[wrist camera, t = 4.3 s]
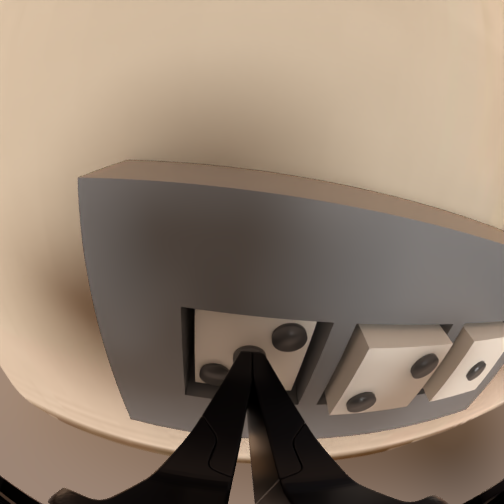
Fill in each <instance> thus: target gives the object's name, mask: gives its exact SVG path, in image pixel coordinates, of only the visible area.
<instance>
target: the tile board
mask: <svg viewBox="0 0 504 504" xmlns="http://www.w3.org/2000/svg"><path fill="white" fill-rule="evenodd" d="M78 197H79V212H80V224H81V233H82V242H83V249H84V256H85V263H86V269H87V275H88V280H89V286H90V291H91V295H92V300H93V305H94V309H95V313H96V317H97V321H98V325H99V329H100V333H101V336H102V340H103V343H104V347H105V350H106V353H107V357H108V360H109V363H110V366H111V369H112V372H113V375H114V377H115V380H116V383H117V386H118V388H119V391H120V394H121V396H122V399H123V401H124V404H125V406H126V409H127V411H128V413H129V416H130V418H131V419H133V420H137V421H141V422H145V423H149V424H153V425H158V426H162V427H167V428H172V429H178V430H183V431H189V432H191V431H192V430H193V428H194V427H195V425H196V424H197V422H198V421H199V419H200V417H202V414H203V413H204V411H205V410H206V408H207V406H208V405H209V403H210V401H211V400H212V398H213V396H214V395H215V393H216V391H217V390H218V388H219V387H220V386H214V385H210V384H207V383H200V382H195V309H200V310H207V311H214V312H222V313H230V314H239V315H248V316H257V317H267V318H278V319H290V320H302V321H316V322H317V323H316V326H315V329H314V332H313V335H312V337H311V340H310V343H309V346H308V348H307V351H306V354H305V356H304V359H303V362H302V364H301V367H300V369H299V372H298V374H297V377H296V379H295V382H294V384H293V387H292V389H291V390H286V391H287V393H288V395H289V396H290V398H291V400H292V401H293V403H294V405H295V406H296V408H297V409H298V411H299V413H300V414H301V416H302V418H303V419H304V421H305V423H306V424H307V425H308V427H309V429H310V430H311V432H312V433H313V435H314V436H315V438H331V437H343V436H352V435H360V434H367V433H374V432H380V431H386V430H391V429H396V428H401V427H406V426H410V425H414V424H419V423H423V422H426V421H430V420H434V419H437V418H441V417H444V416H447V415H450V414H454V413H457V412H460V411H463V410H465V409H467V408H468V407H469V405H470V404H471V403H472V402H473V401H474V400H475V399H476V398H477V397H478V395H479V394H480V393H481V392H482V391H483V390H484V388H485V387H486V386H487V385H488V383H489V382H490V381H491V380H492V378H493V377H494V376H495V375H496V373H497V372H498V371H499V369H500V368H501V367H502V365H503V364H504V352H503V353H502V355H501V356H500V358H499V359H498V361H497V362H496V363H495V365H494V366H493V367H492V369H491V370H490V371H489V373H488V374H487V375H486V377H485V378H484V379H483V380H482V382H481V383H480V384H479V385H478V387H477V388H476V389H475V390H472V391H469V392H465V393H462V394H459V395H455V396H451V397H447V398H444V399H439V400H435V401H431V402H429V400H428V398H427V396H426V394H425V391H424V389H423V387H422V389H421V390H420V391H419V392H418V394H417V395H416V396H415V397H414V399H413V400H412V401H411V402H410V403H409V404H408V406H406V407H400V408H394V409H388V410H381V411H373V412H364V413H354V414H341V415H329V411H328V406H327V401H326V397H325V392H324V390H325V388H326V386H327V384H328V382H329V380H330V378H331V376H332V375H333V373H334V371H335V369H336V367H337V365H338V363H339V361H340V359H341V357H342V354H343V352H344V350H345V348H346V346H347V344H348V342H349V340H350V337H351V335H352V333H353V331H354V328H355V326H356V324H388V325H434V324H439V325H440V326H441V327H442V329H443V330H444V332H445V333H446V334H447V336H448V337H449V339H450V340H451V342H452V343H453V342H454V341H455V339H456V338H457V336H458V334H459V333H460V331H461V329H462V327H463V326H464V324H466V323H484V322H498V321H503V323H504V231H503V230H500V229H498V228H495V227H492V226H489V225H487V224H484V223H481V222H478V221H475V220H472V219H469V218H466V217H463V216H460V215H457V214H454V213H451V212H448V211H444V210H441V209H438V208H434V207H431V206H428V205H424V204H420V203H417V202H413V201H409V200H406V199H402V198H398V197H394V196H390V195H386V194H382V193H378V192H373V191H369V190H365V189H360V188H355V187H351V186H346V185H341V184H336V183H331V182H326V181H321V180H315V179H309V178H304V177H298V176H292V175H285V174H279V173H272V172H265V171H258V170H250V169H242V168H234V167H225V166H215V165H204V164H193V163H179V162H164V161H143V160H126V161H123V162H120V163H117V164H114V165H111V166H108V167H105V168H102V169H99V170H96V171H94V172H91V173H88V174H86V175H83V176H80V177H78ZM242 438H249V433H248V421H247V412H246V417H245V423H244V428H243V433H242Z"/></svg>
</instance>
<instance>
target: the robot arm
mask: <svg viewBox="0 0 504 504" xmlns="http://www.w3.org/2000/svg"><path fill="white" fill-rule="evenodd" d="M246 412H247V421H248V433H249V445H250V457H251V468H252V479H253V490H254V499H255V504H448V503H447V502H446V501H445V500H443V499H442V498H440V497H438V496H436V495H432V496H429V497H426V498H424V499H422V500H419V501H416V502H404V501H400V500H397V499H394V498H392V497H389V496H386V495H384V494H381V493H379V492H376V491H374V490H371V489H368V488H366V487H364V486H362V485H360V484H358V483H356V482H355V481H354V480H352V479H351V478H350V477H349V476H348V475H347V474H346V473H345V472H344V471H343V470H342V469H341V468H340V466H339V465H338V464H337V463H336V462H335V461H334V460H333V459H332V457H331V456H330V455H329V454H328V453H327V452H326V451H325V449H324V448H323V447H322V446H321V444H320V443H319V442H318V440H317V439H316V438H315V436H314V435H313V433H312V432H311V430H310V429H309V427H308V425H307V424H306V423H305V421H304V419H303V418H302V416H301V414H300V413H299V411H298V409H297V408H296V406H295V405H294V403H293V401H292V400H291V398H290V396H289V395H288V393H287V391H286V390H285V388H284V386H283V385H282V383H281V381H280V380H279V378H278V376H277V375H276V373H275V371H274V370H273V368H272V366H271V364H270V363H269V361H268V359H267V358H266V356H265V354H264V353H260V352H253V353H252V352H249V351H240V353H239V354H238V356H237V358H236V359H235V361H234V363H233V365H232V366H231V368H230V370H229V371H228V373H227V375H226V376H225V378H224V380H223V381H222V383H221V385H220V387H219V388H218V390H217V391H216V393H215V395H214V396H213V398H212V400H211V401H210V403H209V405H208V406H207V408H206V410H205V411H204V413H203V414H202V417H200V419H199V421H198V422H197V424H196V425H195V427H194V428H193V430H192V431H191V433H190V434H189V435H188V437H187V438H186V439H185V440H184V441H183V443H182V444H181V445H180V446H179V447H178V448H177V449H176V451H175V452H174V453H173V454H172V455H171V456H170V457H169V458H168V459H167V460H166V461H165V462H164V464H163V465H162V466H161V467H160V468H159V469H158V470H157V471H155V472H154V473H153V474H152V475H151V476H150V477H148V478H147V479H145V480H143V481H142V482H140V483H138V484H136V485H134V486H132V487H131V488H129V489H126V490H125V491H123V492H121V493H119V494H117V495H114V496H112V497H110V498H107V499H103V500H95V499H91V498H88V497H85V496H83V495H81V494H78V493H76V492H74V491H72V490H69V489H66V488H62V489H61V490H59V491H58V492H57V493H55V494H54V495H53V496H52V497H51V498H50V499H49V500H48V503H50V504H228V501H229V495H230V490H231V485H232V481H233V476H234V472H235V466H236V462H237V457H238V452H239V448H240V443H241V438H242V433H243V428H244V423H245V417H246ZM0 504H42V503H40V502H39V501H37V500H35V499H33V498H32V497H31V496H29V495H27V494H26V493H24V492H23V491H21V490H20V489H19V488H17V487H15V486H14V485H13V484H11V483H10V482H8V481H7V480H6V479H4V478H3V477H2V476H0ZM463 504H504V479H502V480H501V481H500V482H498V483H497V484H495V485H494V486H492V487H490V488H489V489H487V490H486V491H484V492H482V493H481V494H479V495H477V496H475V497H474V498H472V499H470V500H468V501H466V502H464V503H463Z"/></svg>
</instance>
